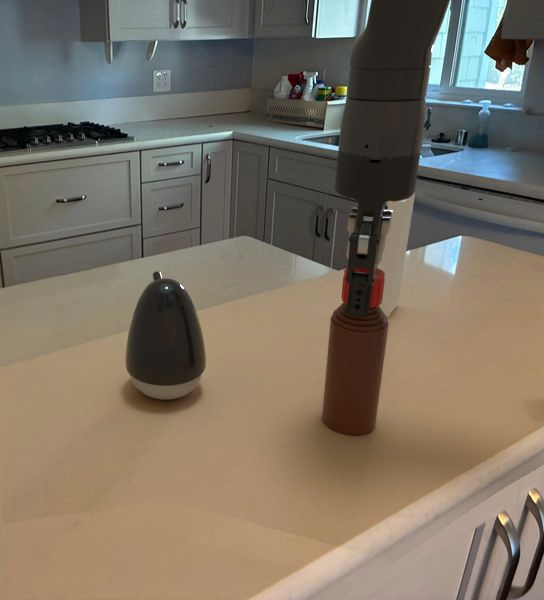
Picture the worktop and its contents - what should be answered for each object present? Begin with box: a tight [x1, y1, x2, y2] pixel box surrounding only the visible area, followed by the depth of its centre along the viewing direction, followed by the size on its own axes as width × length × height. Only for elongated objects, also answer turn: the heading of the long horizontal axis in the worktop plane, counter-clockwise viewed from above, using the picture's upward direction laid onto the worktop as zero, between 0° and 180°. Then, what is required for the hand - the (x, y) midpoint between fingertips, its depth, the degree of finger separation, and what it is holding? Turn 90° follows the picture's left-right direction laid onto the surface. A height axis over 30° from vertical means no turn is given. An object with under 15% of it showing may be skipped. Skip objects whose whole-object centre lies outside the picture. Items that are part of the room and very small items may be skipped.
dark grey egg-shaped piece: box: [124, 270, 207, 401], centre depth 76 cm, size 10×10×15 cm
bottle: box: [321, 302, 390, 436], centre depth 69 cm, size 6×6×18 cm
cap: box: [340, 267, 385, 308], centre depth 65 cm, size 4×4×3 cm
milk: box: [377, 191, 416, 319], centre depth 96 cm, size 6×6×22 cm
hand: (359, 306), depth 66 cm, fingers closed on cap, 4 cm apart
